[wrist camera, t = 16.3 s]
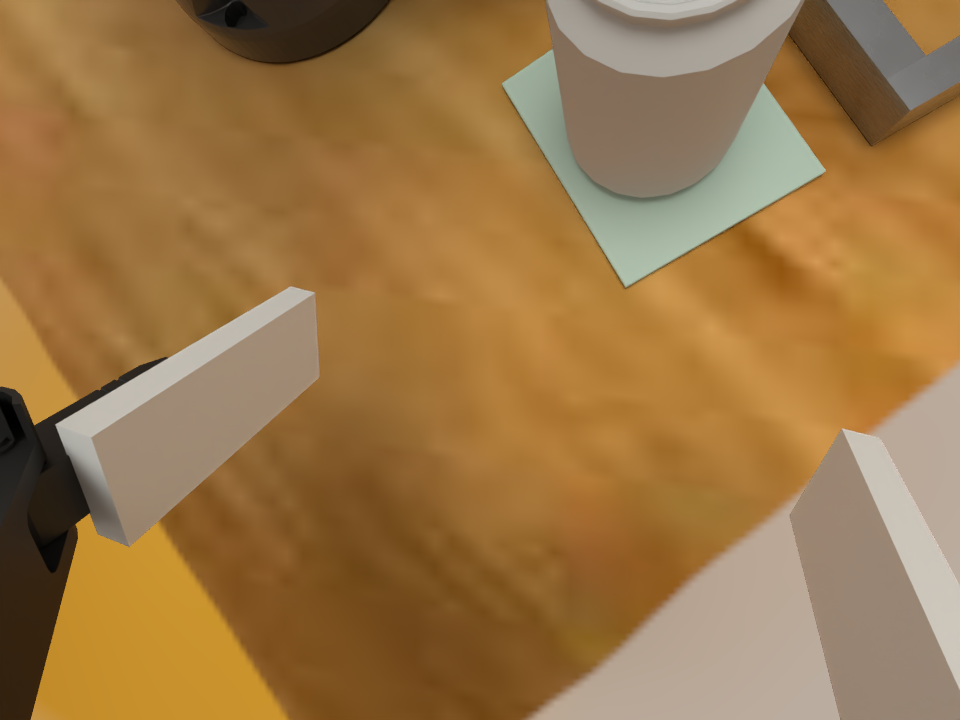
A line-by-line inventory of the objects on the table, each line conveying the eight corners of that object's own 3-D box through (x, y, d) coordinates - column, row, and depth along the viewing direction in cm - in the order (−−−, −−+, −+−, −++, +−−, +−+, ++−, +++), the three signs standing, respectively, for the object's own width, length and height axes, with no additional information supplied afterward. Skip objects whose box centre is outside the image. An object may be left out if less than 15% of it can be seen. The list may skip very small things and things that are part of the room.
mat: (503, 88, 27) (501, 83, 26) (676, -31, 25) (677, -38, 25) (625, 288, 25) (625, 286, 25) (822, 174, 23) (825, 170, 23)
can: (714, 23, 24) (812, -316, 13) (754, 177, 23) (899, -31, 12) (553, 77, 26) (507, -179, 14) (586, 223, 25) (566, 78, 13)
